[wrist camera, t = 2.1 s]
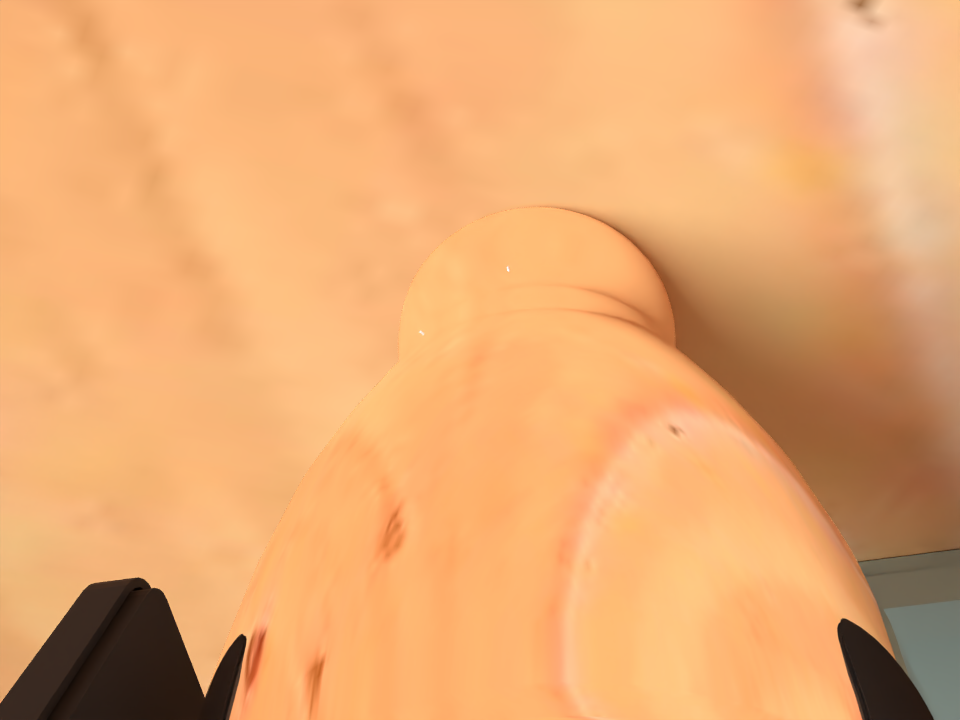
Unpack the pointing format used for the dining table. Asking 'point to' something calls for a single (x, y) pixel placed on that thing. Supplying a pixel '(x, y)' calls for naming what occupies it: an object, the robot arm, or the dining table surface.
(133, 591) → the robot arm
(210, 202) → the dining table surface
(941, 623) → the tray
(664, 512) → the beer glass
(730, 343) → the dining table surface
